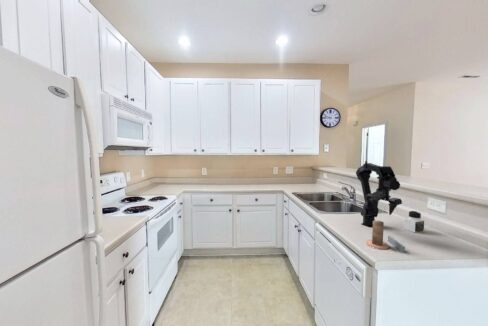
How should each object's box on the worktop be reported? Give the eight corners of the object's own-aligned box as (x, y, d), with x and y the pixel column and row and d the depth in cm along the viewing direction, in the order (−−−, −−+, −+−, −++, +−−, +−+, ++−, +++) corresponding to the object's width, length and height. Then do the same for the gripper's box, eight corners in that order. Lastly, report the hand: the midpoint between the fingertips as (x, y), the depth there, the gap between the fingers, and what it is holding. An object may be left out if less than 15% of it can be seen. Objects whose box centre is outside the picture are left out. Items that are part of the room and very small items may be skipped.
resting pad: (364, 239, 131) (364, 238, 131) (386, 242, 127) (386, 241, 127) (367, 247, 121) (367, 246, 121) (391, 250, 117) (391, 249, 117)
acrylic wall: (387, 241, 129) (387, 235, 129) (389, 241, 129) (390, 235, 129) (402, 252, 115) (402, 246, 115) (404, 252, 115) (404, 246, 115)
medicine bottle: (415, 232, 142) (416, 213, 141) (404, 228, 148) (405, 210, 148) (423, 231, 143) (424, 212, 143) (412, 227, 150) (413, 209, 150)
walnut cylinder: (370, 241, 127) (371, 220, 126) (380, 242, 126) (381, 220, 126) (374, 245, 122) (375, 223, 121) (384, 246, 122) (385, 223, 121)
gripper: (360, 185, 144) (359, 210, 145) (389, 190, 127) (388, 218, 128) (373, 184, 148) (372, 208, 149) (403, 189, 131) (401, 216, 132)
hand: (382, 212), depth 139 cm, fingers open, 9 cm apart
